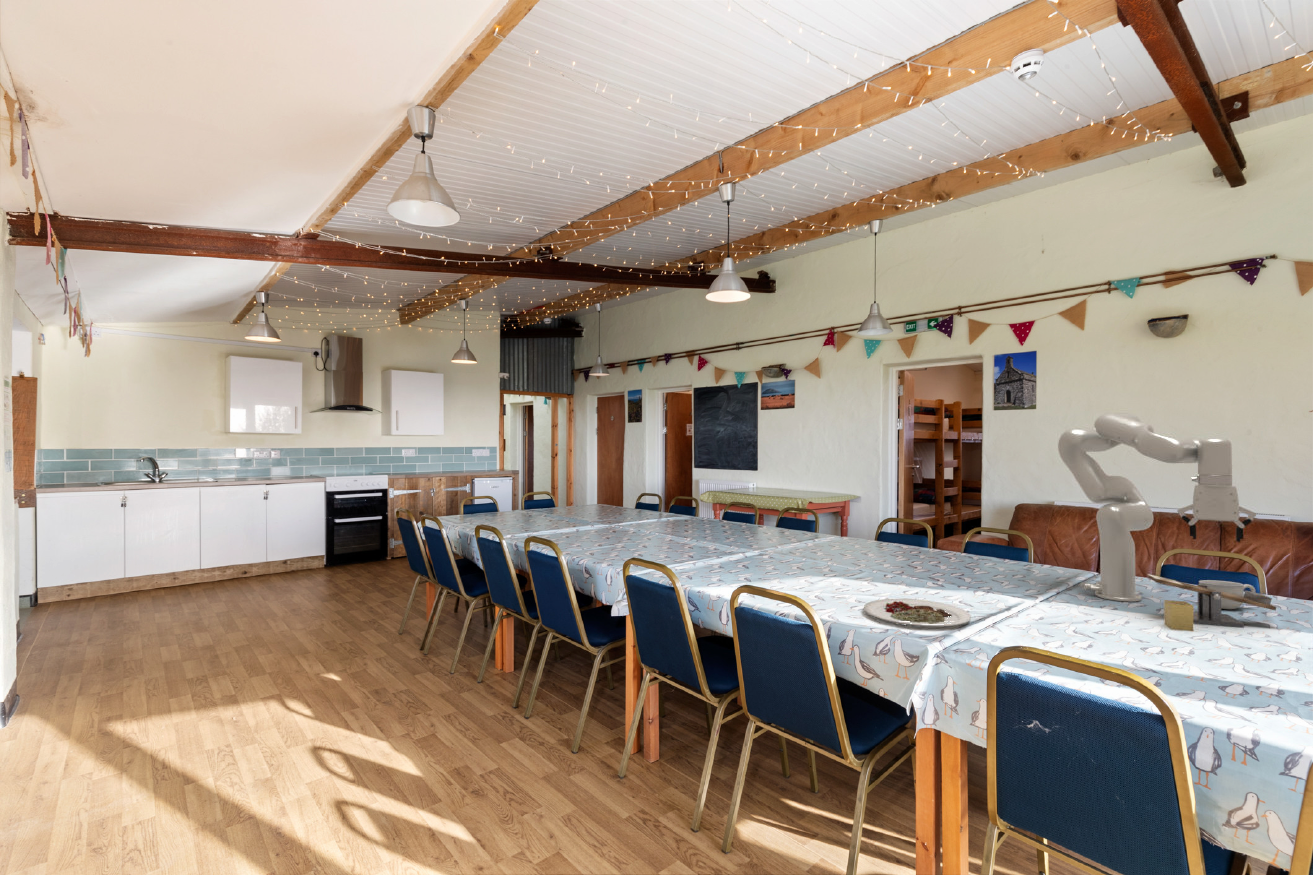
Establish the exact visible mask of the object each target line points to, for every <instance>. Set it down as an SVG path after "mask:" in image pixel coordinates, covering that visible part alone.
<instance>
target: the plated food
mask: <svg viewBox="0 0 1313 875" xmlns="http://www.w3.org/2000/svg"><path fill="white" fill-rule="evenodd" d="M863 611H864V612H866V614H868V615H870V616H872V617H874V618H876V619H880V620H884V621H886V622H888V621H890V622H889V623H892V622H893V623H892V624H896V623H899V624H898V625H901V624H906V625H905V626H907V625H911V626H910V627H915V626H920V627H919V628H942V627H941V626H946V627H952V626H953V627H954V626H959V625H963V624H966V623H968V622H970V621H971V619H972V615H971V613H969V611H967V610H965V609H963V608H962V607H959V606H955V605H951V604H948V603H944V602H938V601H933V600H924V599H916V598H915V599H914V598H883V599H877V600H872V601H869V602H867V603H866V604H864V606H863ZM945 611H946V612H945ZM948 613H949V614H948ZM948 616H949V617H948ZM950 616H951V617H950ZM947 618H948V619H947ZM899 621H910V622H899ZM944 621H948V622H944ZM950 621H954V622H950ZM910 623H912V624H910ZM947 623H951V624H947ZM921 624H944V625H921Z"/></svg>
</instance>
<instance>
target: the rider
mask: <svg viewBox="0 0 1313 875" xmlns="http://www.w3.org/2000/svg"><path fill="white" fill-rule="evenodd" d="M1163 606H1164V607H1163V610H1164V612H1163V613H1164V614H1163V615H1164V621H1163V622H1164V625H1165V626H1166V627H1168V628H1169V629H1170V630H1177V631H1186V632H1187V631H1189V632H1194V624H1193V612H1194V605H1193V604H1191V603H1189V602H1187V601H1185V600H1184V601H1182V600H1181V601H1180V600H1167V599H1166V600H1165V599H1164V601H1163Z"/></svg>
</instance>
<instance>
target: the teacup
mask: <svg viewBox="0 0 1313 875" xmlns="http://www.w3.org/2000/svg"><path fill="white" fill-rule="evenodd" d="M1198 585H1207V588H1208V589H1213V590H1217V591H1221V592H1226V593H1230V594H1234V595H1239V596H1243V597H1244V594H1245V589H1246V588H1249V591H1250V592H1254V593H1256V588H1255V587H1254V586H1253V585H1251V584H1247V583H1245V584H1243V583H1240V582H1234V581H1226V580H1211V579H1207V580H1204V579H1203V580H1202V579H1201V580H1199V581H1198ZM1243 604H1244V603H1241V602H1237V601H1233V600H1229V599H1224V598H1222V599H1221V610H1222V609H1223V610H1224V609H1225V610H1236V609H1238V608H1239V607H1241V606H1243Z"/></svg>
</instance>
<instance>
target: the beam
mask: <svg viewBox="0 0 1313 875" xmlns="http://www.w3.org/2000/svg"><path fill="white" fill-rule="evenodd" d="M1147 576H1148V577H1147V578H1148V579H1150V580H1151V581H1153V582H1155V583H1158V584H1161V585H1166V586H1168V587H1169V586H1170V587H1175V588H1178V589H1183V590H1187V591H1189V592H1190V591H1192V592H1195V593H1198V592H1199V593H1203V594H1207V595H1211V591H1217V590H1213V589H1208V588H1204V587H1200V586H1197V584H1196V585H1195V584H1191V583H1187V582H1181V581H1178V580H1175V579H1170V578H1167V577H1162V576H1157V575H1154V574H1149V573H1147ZM1219 592H1221V591H1219ZM1221 597H1222V598H1224V599H1229V600H1233V601H1237V602H1241V603H1243V604H1247V605H1250V606H1256V607H1257V608H1258V607H1259V608H1264V609H1268V610H1272V611H1276V610H1277V607H1276V605H1275V606H1274V605H1273V604H1271V603H1272V599H1273V598H1271V596H1270V597H1269V596H1267V595H1265V594H1262V593H1257V592H1255V593H1254V592H1251V590H1245V589H1244V597H1243V596H1239V595H1234V594H1230V593H1226V592H1221Z"/></svg>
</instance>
